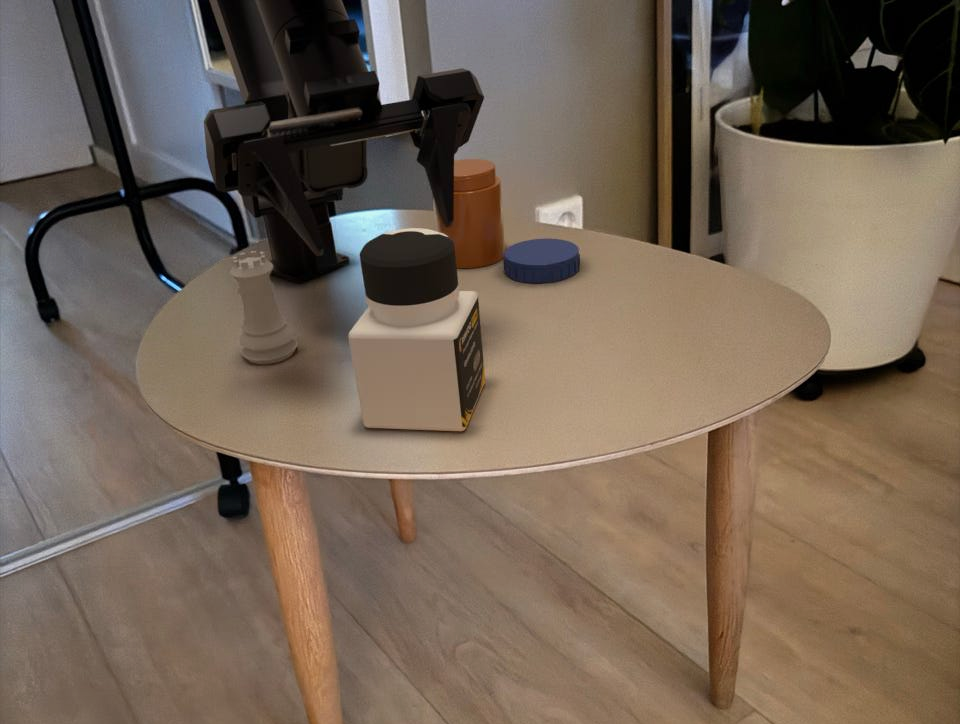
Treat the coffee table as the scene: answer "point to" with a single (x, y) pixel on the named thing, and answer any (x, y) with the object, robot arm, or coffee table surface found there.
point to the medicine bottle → (416, 335)
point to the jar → (475, 214)
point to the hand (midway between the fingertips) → (386, 238)
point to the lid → (541, 260)
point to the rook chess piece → (261, 312)
